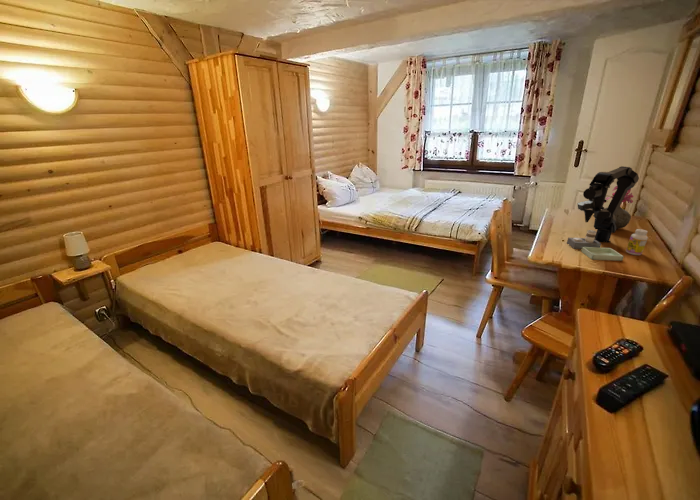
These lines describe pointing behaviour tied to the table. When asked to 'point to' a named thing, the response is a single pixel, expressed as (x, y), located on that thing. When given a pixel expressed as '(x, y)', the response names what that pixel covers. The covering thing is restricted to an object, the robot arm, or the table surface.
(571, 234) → the table surface
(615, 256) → the parts tray
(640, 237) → the supplement bottle
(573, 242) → the block
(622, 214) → the vase
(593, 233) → the cylinder
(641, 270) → the table surface
